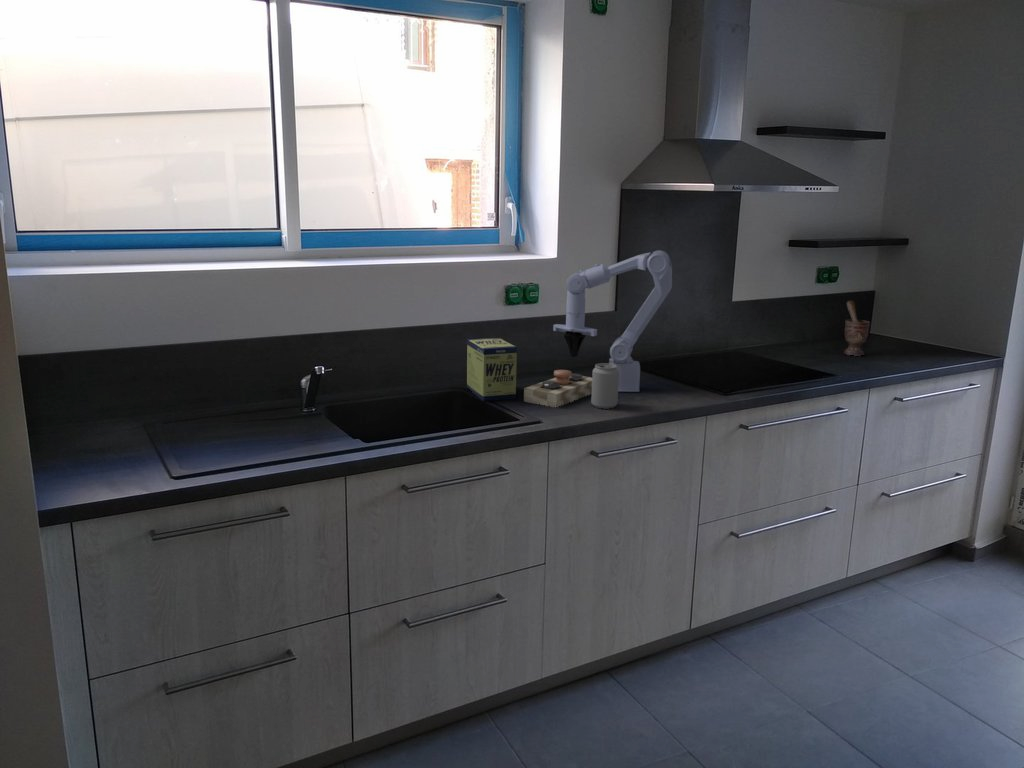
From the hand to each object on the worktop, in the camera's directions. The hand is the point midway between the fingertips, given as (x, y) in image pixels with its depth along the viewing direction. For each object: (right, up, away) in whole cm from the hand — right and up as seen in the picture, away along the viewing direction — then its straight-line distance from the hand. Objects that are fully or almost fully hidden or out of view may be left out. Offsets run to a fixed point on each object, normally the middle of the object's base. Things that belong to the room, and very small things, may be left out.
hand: (573, 356), depth 256 cm
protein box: (-25, -12, -9) cm, 30 cm away
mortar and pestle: (+110, +3, +60) cm, 126 cm away
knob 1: (-8, -13, -16) cm, 22 cm away
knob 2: (-1, -10, -6) cm, 12 cm away
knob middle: (-4, -9, -11) cm, 15 cm away
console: (-4, -12, -11) cm, 17 cm away
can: (+7, -15, -20) cm, 26 cm away
